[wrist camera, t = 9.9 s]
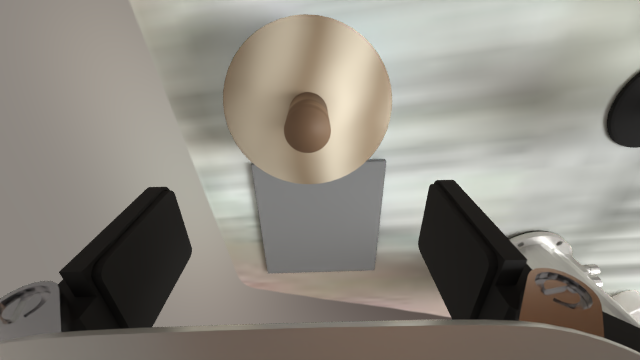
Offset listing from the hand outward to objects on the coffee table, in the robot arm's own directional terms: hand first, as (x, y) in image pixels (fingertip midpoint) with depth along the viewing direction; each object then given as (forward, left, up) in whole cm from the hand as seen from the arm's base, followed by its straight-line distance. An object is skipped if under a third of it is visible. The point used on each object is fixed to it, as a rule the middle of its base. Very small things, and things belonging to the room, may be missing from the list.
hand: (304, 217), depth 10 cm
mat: (-1, +17, -22) cm, 28 cm away
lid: (0, 0, -16) cm, 16 cm away
